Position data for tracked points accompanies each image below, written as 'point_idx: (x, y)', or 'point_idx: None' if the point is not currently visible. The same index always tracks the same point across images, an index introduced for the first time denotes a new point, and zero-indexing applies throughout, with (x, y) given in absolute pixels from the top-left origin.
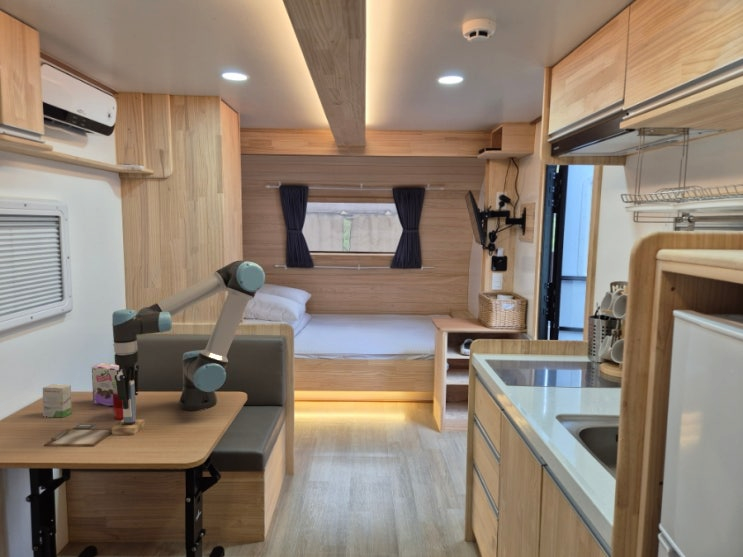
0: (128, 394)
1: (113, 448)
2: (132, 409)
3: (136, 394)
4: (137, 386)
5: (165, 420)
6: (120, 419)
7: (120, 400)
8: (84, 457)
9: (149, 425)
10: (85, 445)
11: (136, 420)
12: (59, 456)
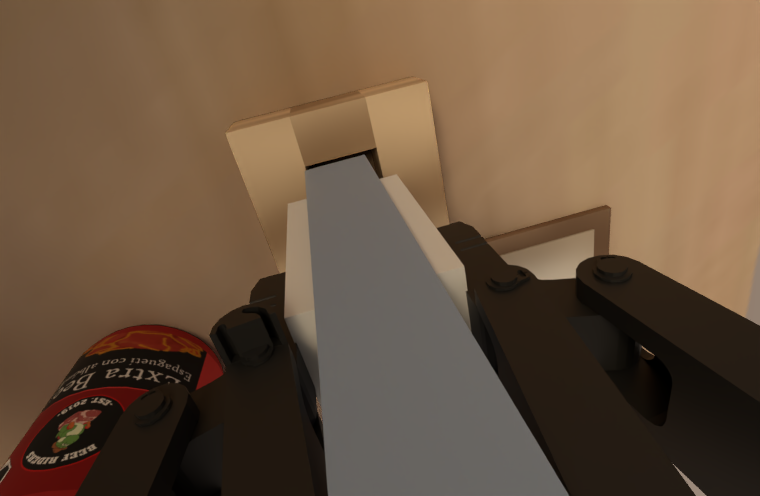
0: (536, 328)
1: (637, 58)
2: (385, 196)
3: (274, 312)
4: (109, 493)
5: (33, 8)
6: (219, 362)
7: None
8: (741, 143)
9: (209, 87)
10: (607, 252)
11: (275, 186)
12: (708, 273)
